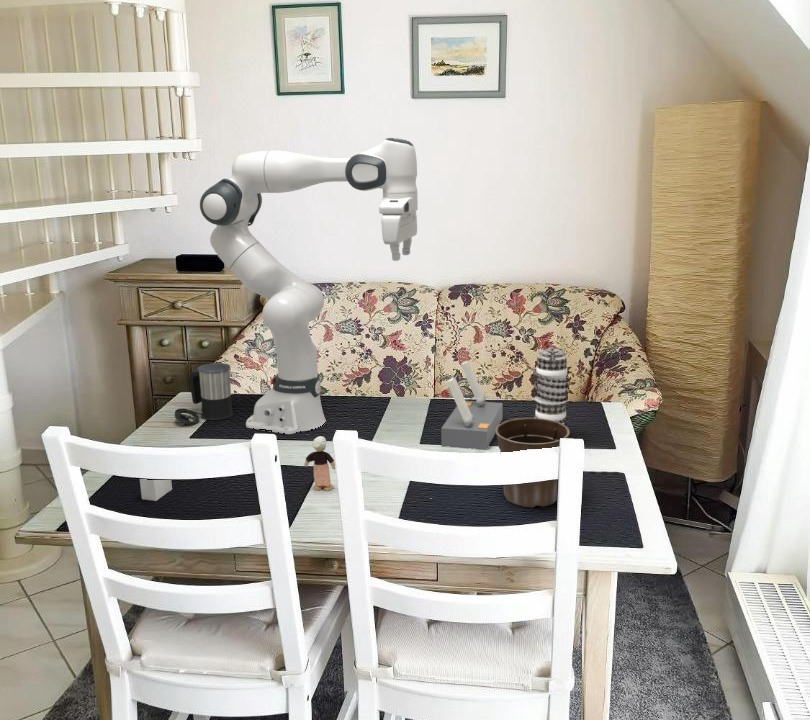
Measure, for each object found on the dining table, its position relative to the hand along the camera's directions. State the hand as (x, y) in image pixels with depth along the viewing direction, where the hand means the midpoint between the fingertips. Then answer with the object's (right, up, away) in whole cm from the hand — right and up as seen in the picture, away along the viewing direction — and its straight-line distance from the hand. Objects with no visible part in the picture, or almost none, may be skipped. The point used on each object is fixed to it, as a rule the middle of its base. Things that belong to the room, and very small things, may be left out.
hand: (401, 257), depth 228 cm
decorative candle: (+39, -48, +3) cm, 62 cm away
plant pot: (+29, -58, -30) cm, 71 cm away
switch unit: (+19, -46, +11) cm, 51 cm away
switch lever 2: (+23, -39, +17) cm, 48 cm away
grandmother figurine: (-19, -57, -23) cm, 64 cm away
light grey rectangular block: (-56, -58, -25) cm, 84 cm away
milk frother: (-57, -44, +27) cm, 77 cm away
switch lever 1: (+18, -43, +1) cm, 47 cm away
